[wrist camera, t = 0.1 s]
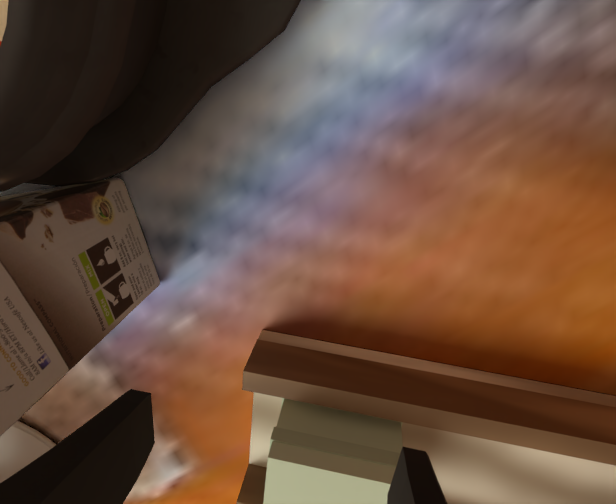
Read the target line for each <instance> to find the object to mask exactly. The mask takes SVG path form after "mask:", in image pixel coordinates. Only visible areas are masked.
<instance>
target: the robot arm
mask: <svg viewBox="0 0 616 504" xmlns="http://www.w3.org/2000/svg"><path fill="white" fill-rule="evenodd" d="M154 443H155V441H154V429H153V416H152V403H151V393H147V392H142V391H137V390H133V389H130V390H129V391H127V392H126V393H125V394H123V395H122V396H121V397H119V398H118V399H117V400H115V401H114V402H113V403H112V404H110V405H109V406H108V407H106V408H105V409H104V410H102V411H101V412H100V413H99V414H97V415H96V416H95V417H93V418H92V419H91V420H89V421H88V422H87V423H85V424H84V425H83V426H81V427H80V428H79V429H77V430H76V431H75V432H73V433H72V434H71V435H69V436H68V437H66V438H65V439H64V440H62V441H61V442H60V443H58V444H57V445H56V446H54V447H53V448H51V449H50V450H49V451H47V452H46V453H44V454H43V455H41V456H40V457H38V458H37V459H35V460H34V461H33V462H31V463H30V464H28V465H27V466H25V467H24V468H22V469H21V470H19V471H18V472H16V473H15V474H14V475H12V476H10V477H9V478H7V479H6V480H4V481H3V482H1V483H0V504H123V502H124V501H125V499H126V497H127V496H128V494H129V492H130V491H131V489H132V487H133V486H134V484H135V482H136V481H137V479H138V477H139V475H140V473H141V471H142V469H143V467H144V465H145V463H146V460H147V458H148V456H149V454H150V452H151V450H152V447H153V445H154ZM387 504H447V501H446V499H445V496H444V494H443V492H442V489H441V487H440V484H439V482H438V479H437V477H436V474H435V472H434V469H433V466H432V464H431V461H430V458H429V455H428V454H427V453H426V451H422V450H417V449H413V448H408V447H402V450H401V453H400V456H399V459H398V463H397V466H396V469H395V472H394V475H393V479H392V482H391V485H390V488H389V491H388V495H387Z"/></svg>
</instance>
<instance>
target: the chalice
mask: <svg viewBox="0 0 616 504" xmlns="http://www.w3.org/2000/svg"><path fill="white" fill-rule="evenodd" d="M54 446H56V444H55V443H54V442H53V441H51V440H50V439H48V438H47V437H46V436H44V435H43V434H41V433H40V432H38V431H37V430H35V429H33V428H31V427H29V426H27V425H25V424H23V423H21V422H19V421H16V422H15V423H14V424H13V425H12V426H11V427H10V428H9V429H8V430H7V431H5V432H4V433H3V434H2V435H1V436H0V483H1V482H3V481H4V480H6V479H7V478H9V477H10V476H12V475H14V474H15V473H16V472H18V471H19V470H21V469H22V468H24V467H25V466H27V465H28V464H30V463H31V462H33V461H34V460H35V459H37V458H38V457H40V456H41V455H43V454H44V453H46V452H47V451H49V450H50V449H51V448H53V447H54Z"/></svg>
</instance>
